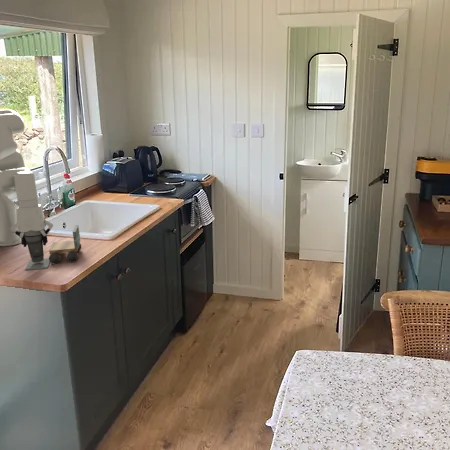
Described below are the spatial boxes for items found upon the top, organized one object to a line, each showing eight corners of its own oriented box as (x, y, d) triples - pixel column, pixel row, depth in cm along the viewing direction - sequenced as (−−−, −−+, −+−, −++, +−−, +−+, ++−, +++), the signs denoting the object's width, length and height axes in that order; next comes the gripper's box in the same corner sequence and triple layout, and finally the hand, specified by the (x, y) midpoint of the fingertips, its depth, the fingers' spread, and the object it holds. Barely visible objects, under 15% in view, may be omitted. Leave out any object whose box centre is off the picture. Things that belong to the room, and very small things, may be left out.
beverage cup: (41, 264, 199) (33, 216, 193) (24, 263, 200) (16, 216, 194) (50, 257, 206) (43, 211, 199) (34, 256, 207) (27, 210, 201)
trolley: (49, 264, 203) (45, 235, 200) (55, 252, 216) (50, 225, 212) (78, 261, 205) (74, 233, 201) (82, 250, 217) (78, 223, 213)
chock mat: (25, 270, 198) (24, 269, 198) (30, 261, 208) (30, 259, 207) (47, 268, 199) (47, 267, 199) (51, 259, 209) (51, 257, 209)
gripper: (2, 207, 191) (10, 250, 196) (49, 203, 193) (56, 246, 199) (7, 202, 198) (15, 244, 203) (52, 198, 200) (59, 240, 206)
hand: (35, 244), depth 201 cm, fingers closed on beverage cup, 7 cm apart
